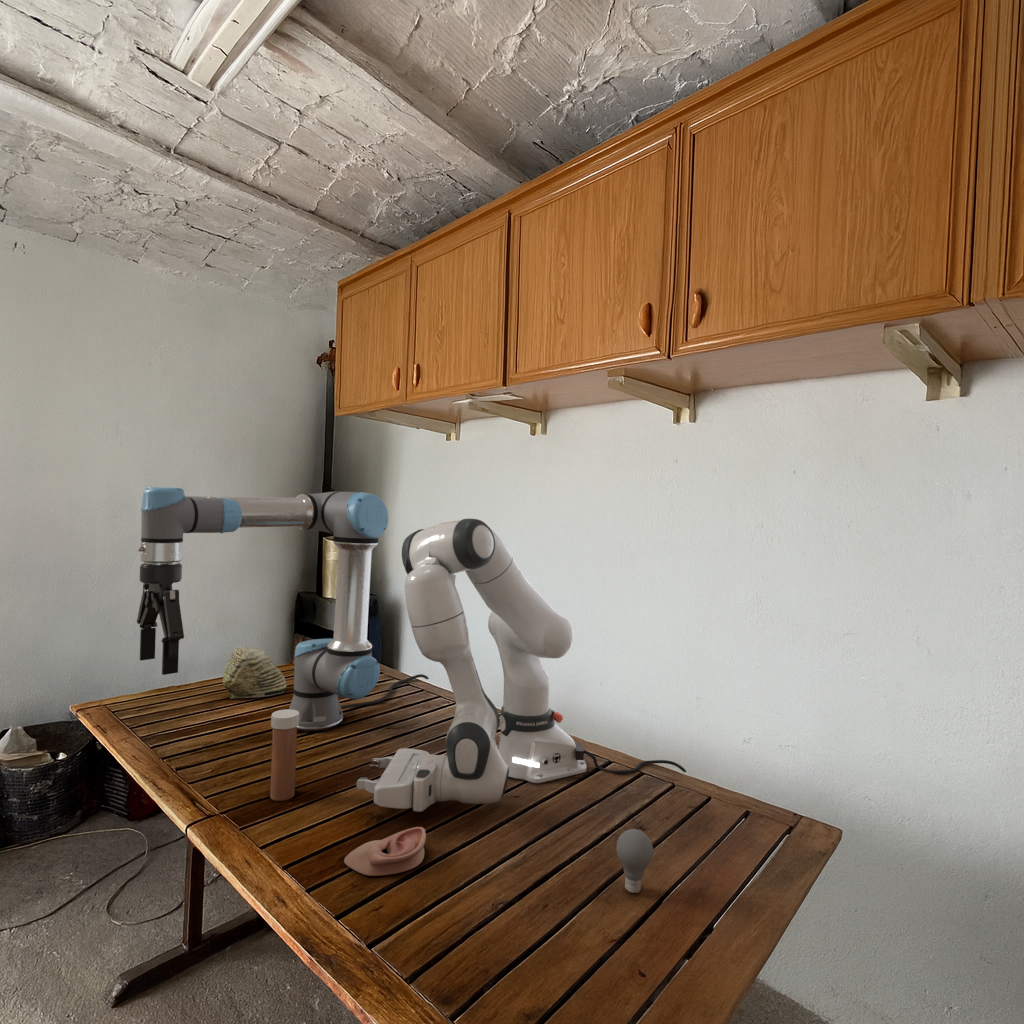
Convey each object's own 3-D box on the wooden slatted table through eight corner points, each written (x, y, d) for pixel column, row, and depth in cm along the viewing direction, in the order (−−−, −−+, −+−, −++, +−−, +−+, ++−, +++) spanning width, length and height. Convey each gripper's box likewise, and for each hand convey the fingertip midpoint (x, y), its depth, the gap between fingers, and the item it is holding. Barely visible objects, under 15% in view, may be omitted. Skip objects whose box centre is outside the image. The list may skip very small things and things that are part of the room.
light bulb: (610, 879, 108) (613, 822, 108) (644, 879, 109) (647, 822, 109) (619, 902, 102) (622, 840, 102) (655, 901, 103) (658, 840, 103)
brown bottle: (287, 801, 131) (290, 720, 131) (265, 799, 132) (268, 718, 131) (298, 791, 136) (301, 712, 136) (277, 788, 136) (280, 710, 136)
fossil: (218, 695, 195) (220, 647, 195) (278, 685, 208) (279, 640, 207) (228, 703, 189) (230, 653, 188) (289, 692, 201) (290, 645, 201)
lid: (291, 730, 130) (291, 719, 130) (265, 728, 131) (265, 716, 131) (303, 721, 136) (304, 710, 136) (278, 719, 137) (279, 708, 137)
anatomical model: (336, 847, 108) (365, 815, 119) (335, 870, 108) (364, 836, 119) (410, 859, 105) (432, 825, 116) (409, 883, 105) (431, 846, 116)
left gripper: (122, 557, 135) (119, 656, 135) (162, 570, 118) (158, 683, 118) (160, 556, 140) (157, 651, 141) (204, 568, 123) (200, 676, 124)
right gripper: (439, 743, 141) (379, 739, 142) (420, 783, 121) (349, 778, 122) (438, 771, 142) (378, 766, 143) (419, 816, 121) (348, 811, 122)
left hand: (158, 666), depth 130 cm, fingers open, 13 cm apart
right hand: (364, 772), depth 132 cm, fingers open, 8 cm apart
